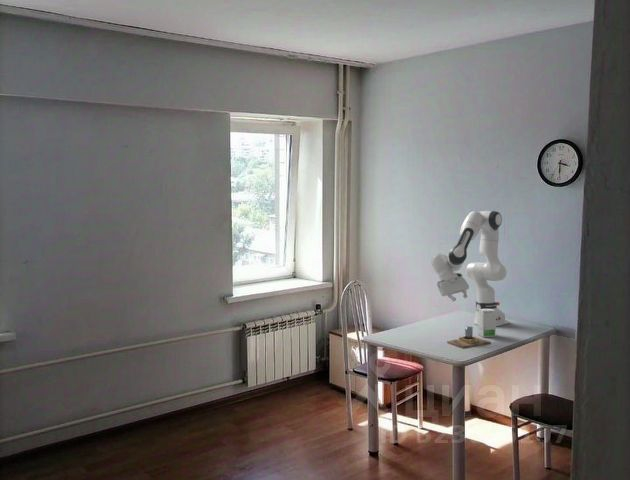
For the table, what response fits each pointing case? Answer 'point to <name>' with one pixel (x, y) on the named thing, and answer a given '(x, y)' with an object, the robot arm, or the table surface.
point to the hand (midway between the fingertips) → (460, 299)
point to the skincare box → (487, 323)
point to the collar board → (468, 342)
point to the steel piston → (468, 333)
